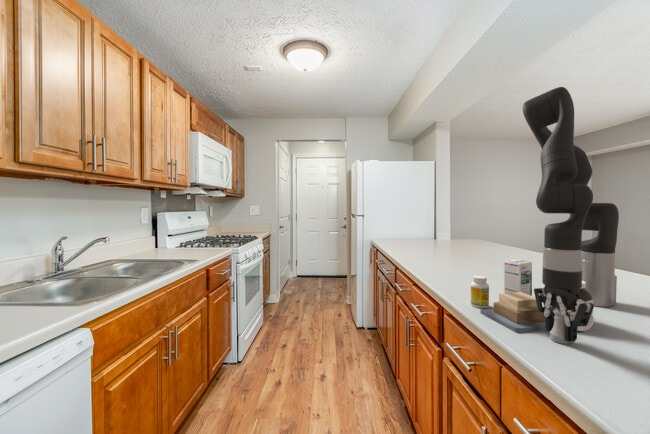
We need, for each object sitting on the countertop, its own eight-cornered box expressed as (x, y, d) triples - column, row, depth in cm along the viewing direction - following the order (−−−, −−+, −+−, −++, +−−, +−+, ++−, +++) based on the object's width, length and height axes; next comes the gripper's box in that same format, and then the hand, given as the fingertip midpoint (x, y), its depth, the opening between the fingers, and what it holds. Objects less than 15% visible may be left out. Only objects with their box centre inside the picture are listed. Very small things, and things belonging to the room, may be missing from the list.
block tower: (521, 310, 94) (521, 288, 93) (562, 328, 80) (563, 302, 79) (480, 313, 92) (480, 290, 91) (515, 332, 78) (515, 305, 78)
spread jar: (570, 314, 89) (571, 276, 89) (613, 330, 78) (614, 286, 78) (536, 318, 87) (536, 278, 87) (574, 334, 76) (575, 289, 76)
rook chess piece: (544, 336, 75) (544, 305, 75) (560, 336, 75) (561, 304, 75) (559, 345, 70) (560, 312, 70) (577, 344, 71) (578, 311, 70)
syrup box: (520, 308, 95) (520, 263, 95) (503, 302, 101) (503, 260, 100) (532, 306, 97) (532, 261, 97) (514, 300, 103) (515, 258, 102)
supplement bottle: (476, 302, 102) (476, 274, 101) (492, 306, 97) (492, 277, 97) (467, 305, 99) (467, 276, 98) (483, 309, 94) (483, 279, 94)
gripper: (606, 272, 66) (604, 349, 66) (549, 260, 80) (548, 323, 80) (577, 274, 65) (575, 351, 65) (524, 261, 79) (523, 325, 79)
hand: (560, 336), depth 73 cm, fingers closed on rook chess piece, 4 cm apart
